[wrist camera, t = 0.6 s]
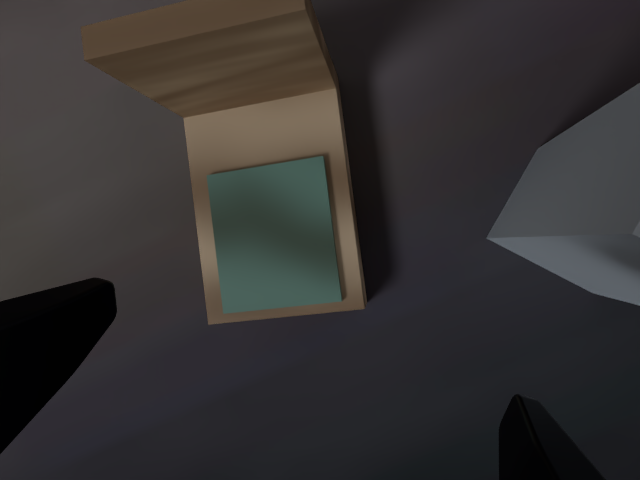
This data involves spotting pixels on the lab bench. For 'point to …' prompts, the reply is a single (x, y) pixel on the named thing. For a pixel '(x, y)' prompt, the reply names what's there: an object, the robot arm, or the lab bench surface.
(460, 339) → the lab bench surface
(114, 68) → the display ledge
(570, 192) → the grey tapered block
